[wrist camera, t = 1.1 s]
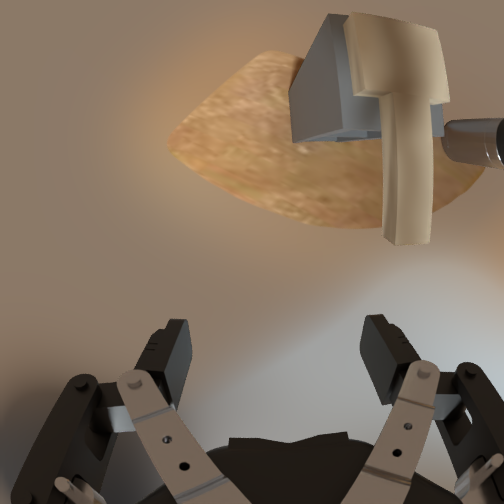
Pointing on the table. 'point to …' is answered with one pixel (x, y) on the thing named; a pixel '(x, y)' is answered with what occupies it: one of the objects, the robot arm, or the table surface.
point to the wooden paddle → (400, 113)
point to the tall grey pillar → (336, 94)
